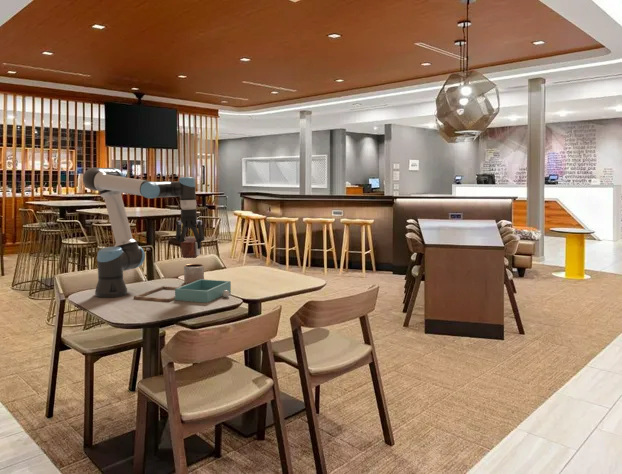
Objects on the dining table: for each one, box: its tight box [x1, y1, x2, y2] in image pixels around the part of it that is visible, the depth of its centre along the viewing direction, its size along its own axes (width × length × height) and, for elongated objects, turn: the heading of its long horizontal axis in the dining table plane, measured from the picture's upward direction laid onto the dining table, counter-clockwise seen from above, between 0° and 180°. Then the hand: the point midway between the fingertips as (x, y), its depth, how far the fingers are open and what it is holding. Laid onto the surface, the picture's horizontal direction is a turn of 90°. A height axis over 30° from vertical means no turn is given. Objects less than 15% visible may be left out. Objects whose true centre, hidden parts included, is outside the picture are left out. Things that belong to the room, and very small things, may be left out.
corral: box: [133, 285, 180, 303], centre depth 264 cm, size 19×25×1 cm
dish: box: [174, 278, 232, 303], centre depth 262 cm, size 17×25×5 cm
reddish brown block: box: [180, 237, 202, 259], centre depth 261 cm, size 18×6×9 cm, turn 0°
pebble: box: [222, 290, 231, 298], centre depth 259 cm, size 4×4×4 cm
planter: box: [183, 263, 205, 285], centre depth 294 cm, size 11×11×10 cm
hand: (190, 255), depth 260 cm, fingers closed on reddish brown block, 7 cm apart
